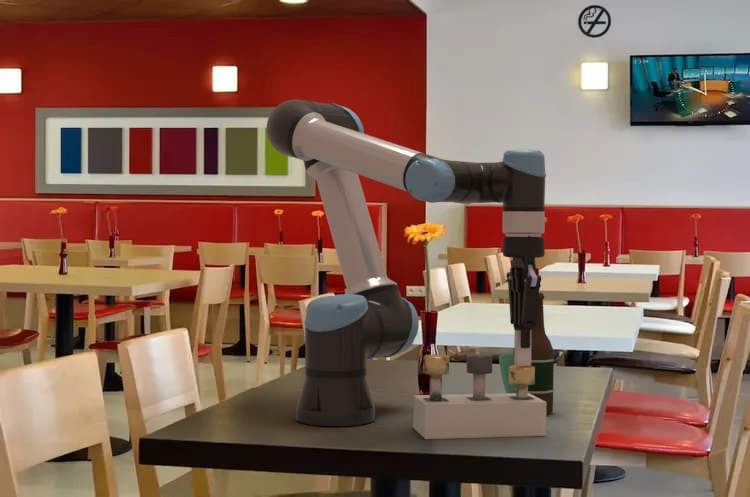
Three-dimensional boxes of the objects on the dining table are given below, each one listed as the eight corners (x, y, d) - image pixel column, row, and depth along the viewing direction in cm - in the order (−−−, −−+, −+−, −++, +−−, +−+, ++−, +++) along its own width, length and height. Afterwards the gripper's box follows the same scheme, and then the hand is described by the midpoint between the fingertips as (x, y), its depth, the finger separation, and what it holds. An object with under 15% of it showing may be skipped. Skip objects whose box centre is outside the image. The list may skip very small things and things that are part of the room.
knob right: (513, 413, 194) (513, 368, 194) (505, 408, 198) (506, 365, 198) (537, 412, 195) (538, 368, 194) (529, 408, 199) (530, 364, 199)
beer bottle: (527, 417, 210) (528, 294, 209) (506, 410, 217) (508, 291, 216) (561, 415, 213) (562, 293, 212) (539, 408, 220) (541, 290, 219)
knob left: (426, 403, 191) (426, 358, 191) (420, 398, 195) (420, 354, 195) (451, 402, 192) (451, 357, 191) (445, 398, 196) (445, 354, 196)
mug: (538, 410, 217) (538, 361, 217) (491, 406, 221) (492, 358, 221) (558, 400, 230) (559, 353, 230) (514, 396, 235) (515, 350, 234)
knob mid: (470, 402, 192) (470, 357, 192) (463, 398, 197) (463, 354, 197) (494, 401, 193) (495, 357, 193) (487, 397, 198) (488, 353, 197)
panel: (425, 439, 188) (425, 404, 188) (413, 427, 198) (413, 395, 198) (546, 435, 192) (546, 402, 192) (528, 425, 202) (528, 393, 202)
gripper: (555, 236, 190) (554, 369, 190) (532, 235, 203) (531, 360, 203) (514, 236, 188) (513, 370, 189) (493, 235, 201) (492, 361, 202)
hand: (522, 365), depth 196 cm, fingers closed
